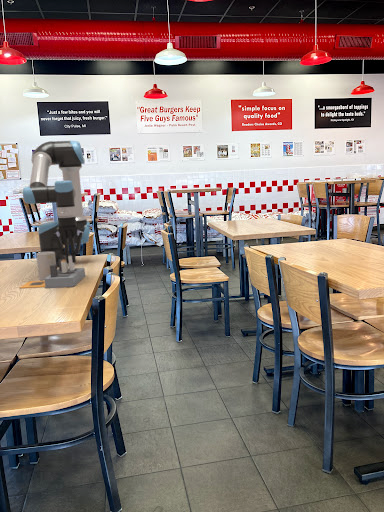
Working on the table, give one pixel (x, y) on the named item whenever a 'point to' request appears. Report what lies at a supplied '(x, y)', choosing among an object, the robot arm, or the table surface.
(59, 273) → the grey switch box
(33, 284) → the pad
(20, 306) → the table surface
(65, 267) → the toggle
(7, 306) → the table surface
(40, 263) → the white closed cylinder
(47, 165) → the robot arm
